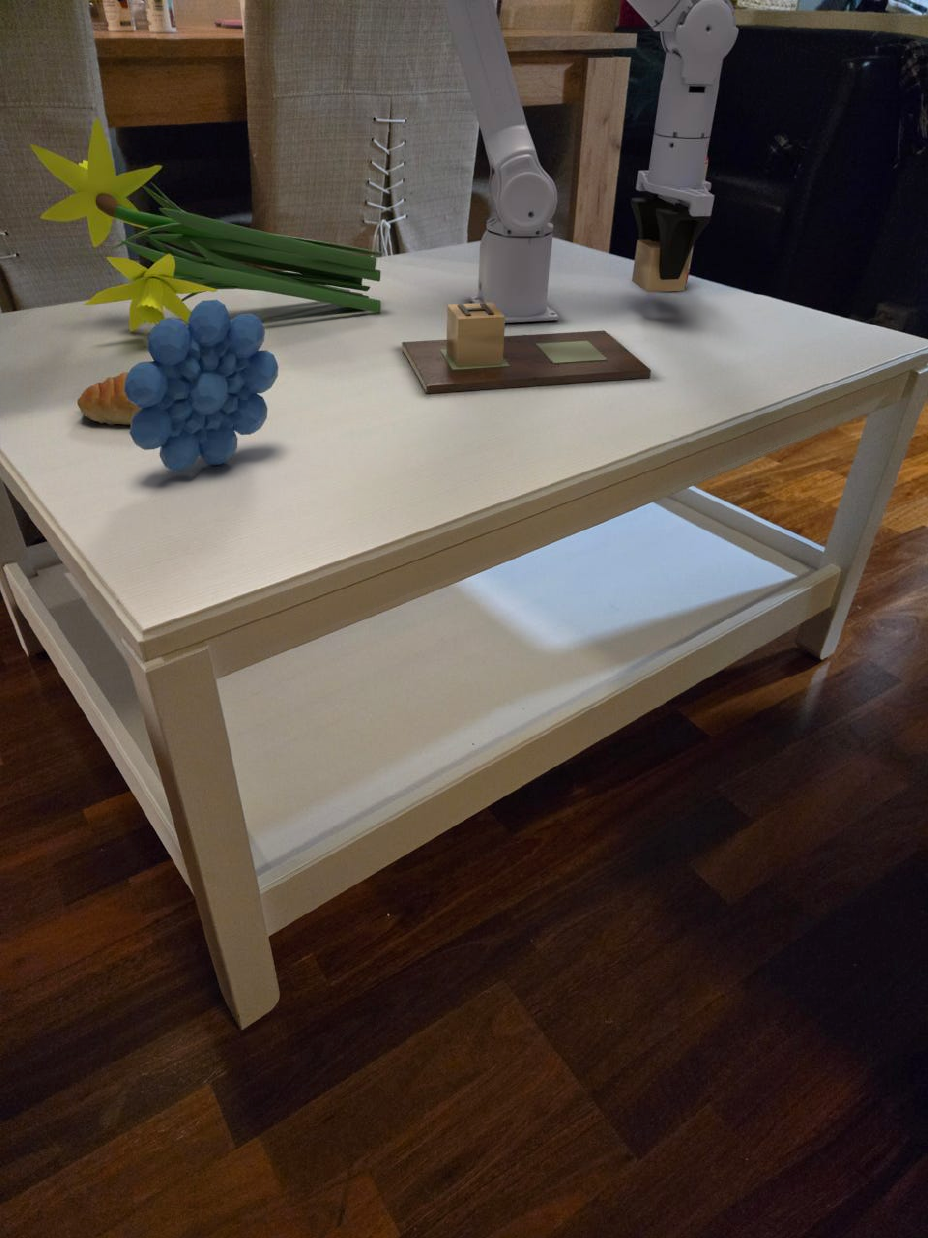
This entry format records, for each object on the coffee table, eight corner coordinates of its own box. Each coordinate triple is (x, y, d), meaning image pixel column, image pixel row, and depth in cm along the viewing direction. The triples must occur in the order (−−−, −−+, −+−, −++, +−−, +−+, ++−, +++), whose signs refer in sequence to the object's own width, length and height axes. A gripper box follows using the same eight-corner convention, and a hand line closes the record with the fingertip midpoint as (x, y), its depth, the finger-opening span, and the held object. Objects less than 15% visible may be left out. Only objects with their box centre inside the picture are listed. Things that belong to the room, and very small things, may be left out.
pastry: (81, 435, 68) (69, 389, 66) (83, 404, 73) (72, 360, 71) (201, 422, 71) (193, 378, 68) (195, 393, 76) (188, 351, 74)
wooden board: (402, 349, 86) (401, 340, 86) (603, 337, 91) (605, 329, 90) (426, 393, 77) (426, 384, 76) (650, 377, 82) (651, 368, 81)
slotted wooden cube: (631, 281, 98) (637, 237, 95) (667, 279, 99) (674, 236, 96) (647, 292, 94) (654, 247, 91) (684, 290, 95) (692, 246, 92)
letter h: (446, 351, 84) (447, 302, 81) (490, 348, 85) (492, 300, 82) (457, 367, 80) (458, 317, 77) (502, 364, 81) (505, 314, 78)
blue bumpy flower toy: (261, 427, 70) (242, 276, 63) (300, 456, 66) (285, 298, 59) (121, 462, 65) (83, 300, 57) (154, 497, 60) (117, 326, 53)
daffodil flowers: (405, 342, 91) (41, 282, 73) (350, 375, 103) (27, 331, 85) (402, 183, 90) (36, 83, 72) (347, 235, 103) (23, 161, 85)
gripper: (752, 145, 83) (722, 289, 91) (685, 125, 94) (665, 255, 102) (686, 145, 81) (662, 291, 89) (626, 125, 92) (610, 257, 100)
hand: (659, 272), depth 96 cm, fingers closed on slotted wooden cube, 4 cm apart
